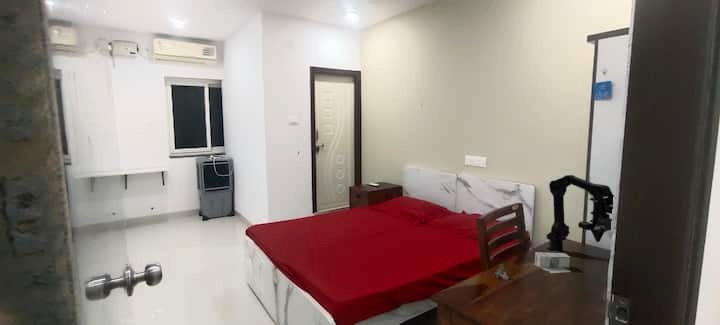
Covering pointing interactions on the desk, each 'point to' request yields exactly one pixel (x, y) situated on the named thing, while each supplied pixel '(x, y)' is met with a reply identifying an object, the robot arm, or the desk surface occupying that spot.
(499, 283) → the desk surface
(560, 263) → the syrup box
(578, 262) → the desk surface
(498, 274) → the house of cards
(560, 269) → the mat
